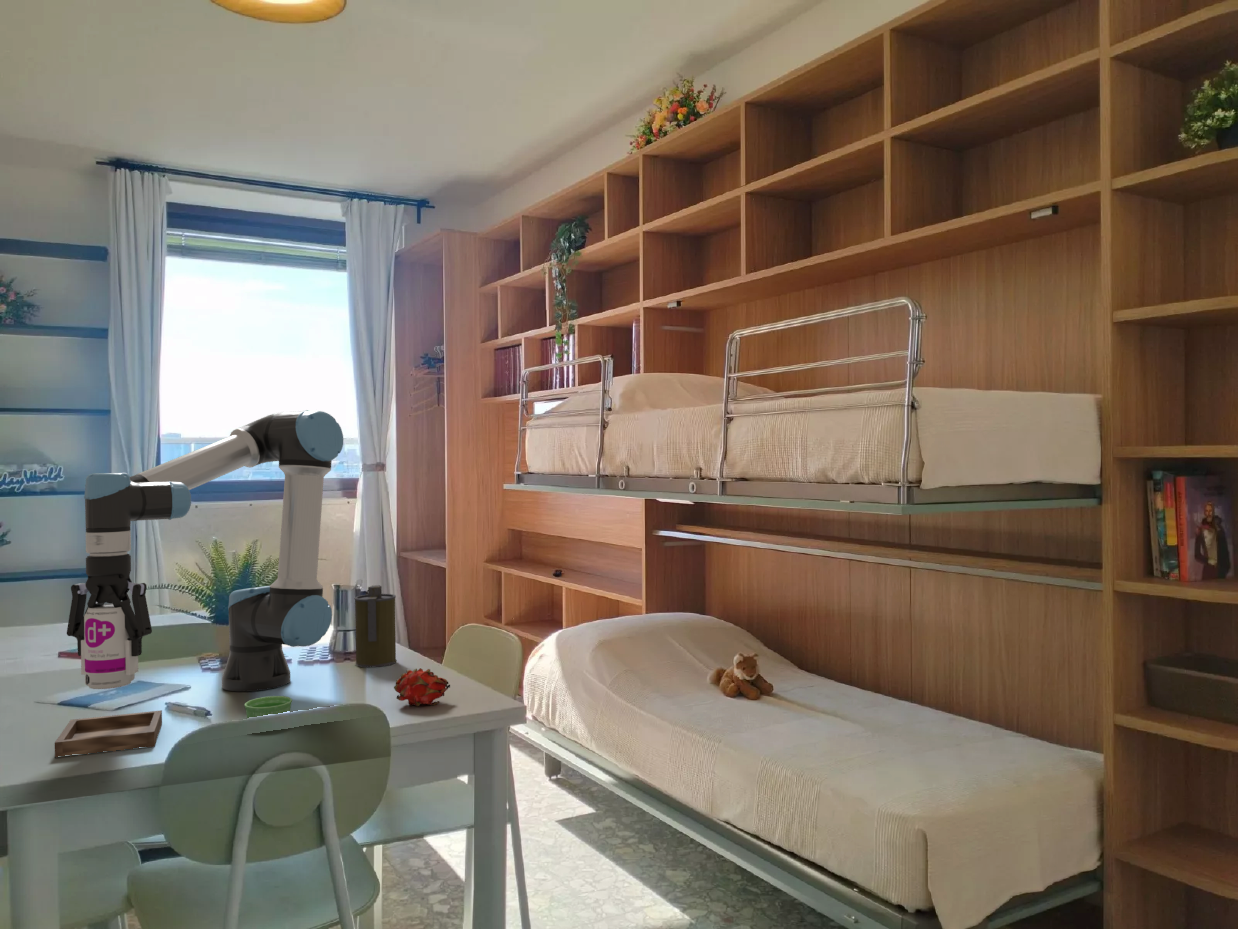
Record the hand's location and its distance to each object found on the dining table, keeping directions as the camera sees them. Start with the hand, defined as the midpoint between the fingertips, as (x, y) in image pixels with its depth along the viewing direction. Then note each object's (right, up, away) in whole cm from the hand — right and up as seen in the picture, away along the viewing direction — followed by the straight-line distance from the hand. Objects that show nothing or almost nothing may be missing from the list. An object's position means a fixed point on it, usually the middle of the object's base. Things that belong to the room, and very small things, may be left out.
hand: (109, 673), depth 175 cm
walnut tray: (0, -13, 0) cm, 13 cm away
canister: (+34, -12, +64) cm, 74 cm away
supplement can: (0, -2, 0) cm, 2 cm away
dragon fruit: (+55, -12, +23) cm, 61 cm away
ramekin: (+26, -13, +11) cm, 31 cm away
